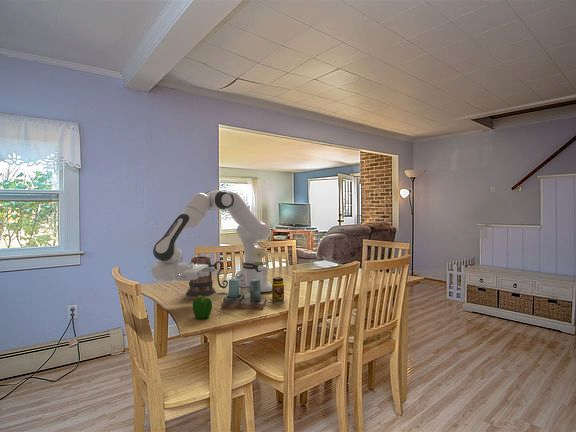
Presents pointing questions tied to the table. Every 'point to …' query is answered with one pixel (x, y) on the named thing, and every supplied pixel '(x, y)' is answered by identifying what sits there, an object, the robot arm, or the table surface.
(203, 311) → the bell pepper
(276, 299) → the condiment
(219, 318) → the table surface
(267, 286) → the flower in vase
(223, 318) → the table surface
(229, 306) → the base
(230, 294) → the column
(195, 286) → the tankard
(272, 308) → the table surface
